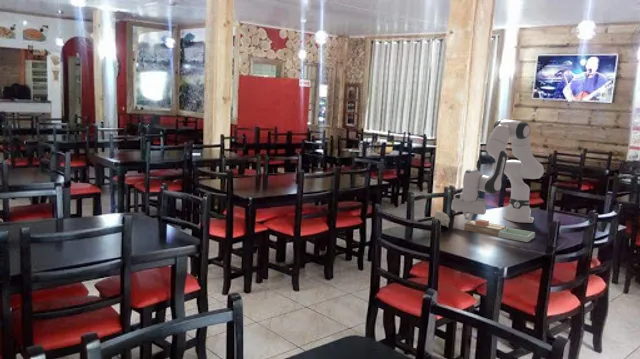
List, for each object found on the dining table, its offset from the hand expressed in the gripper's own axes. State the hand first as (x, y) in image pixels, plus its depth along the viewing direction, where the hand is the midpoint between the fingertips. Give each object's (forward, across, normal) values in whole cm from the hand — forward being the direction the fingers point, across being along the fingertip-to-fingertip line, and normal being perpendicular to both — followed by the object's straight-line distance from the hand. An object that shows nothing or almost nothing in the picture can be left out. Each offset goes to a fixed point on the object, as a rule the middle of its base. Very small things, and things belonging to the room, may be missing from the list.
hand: (467, 219), depth 323 cm
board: (+5, -11, 0) cm, 12 cm away
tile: (+1, -9, 0) cm, 9 cm away
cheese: (+6, +12, +17) cm, 22 cm away
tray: (+5, -29, 0) cm, 29 cm away
